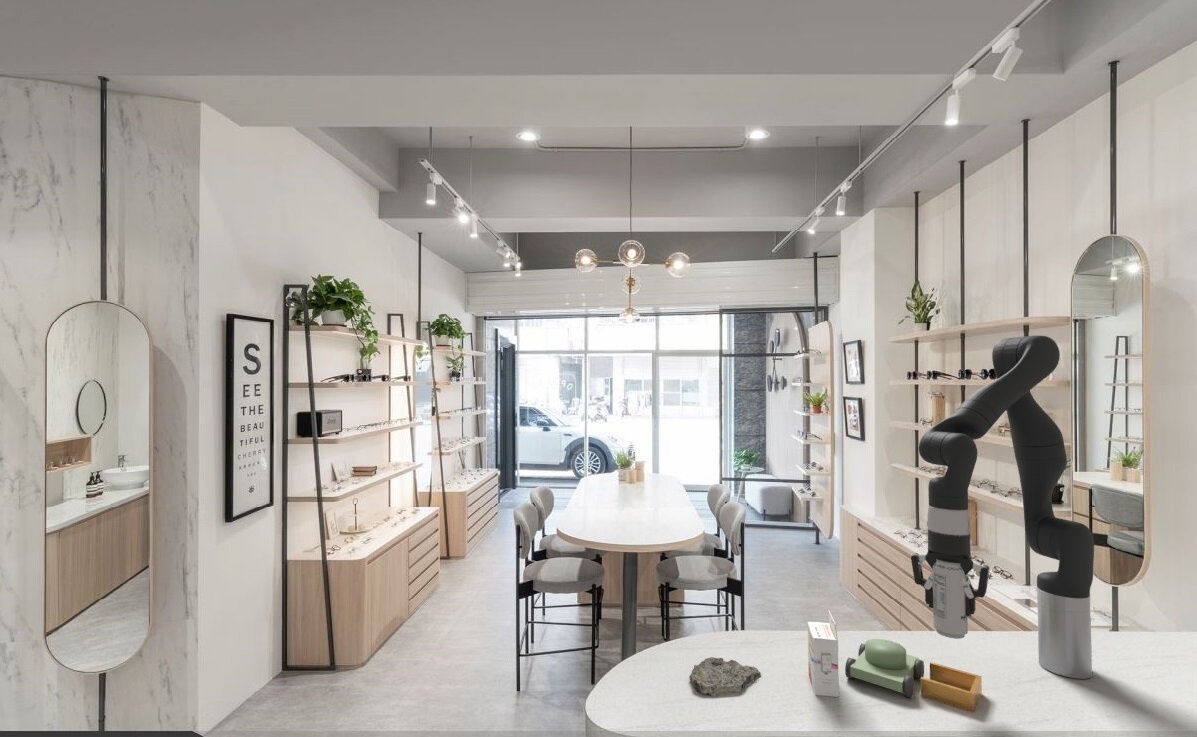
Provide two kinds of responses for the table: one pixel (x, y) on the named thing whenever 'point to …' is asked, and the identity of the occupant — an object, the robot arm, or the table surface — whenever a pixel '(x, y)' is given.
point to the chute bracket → (952, 687)
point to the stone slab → (721, 676)
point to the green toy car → (886, 666)
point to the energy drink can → (949, 600)
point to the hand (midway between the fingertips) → (949, 610)
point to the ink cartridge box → (823, 657)
